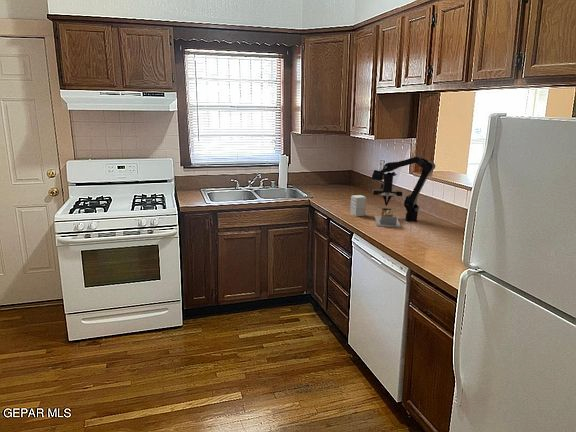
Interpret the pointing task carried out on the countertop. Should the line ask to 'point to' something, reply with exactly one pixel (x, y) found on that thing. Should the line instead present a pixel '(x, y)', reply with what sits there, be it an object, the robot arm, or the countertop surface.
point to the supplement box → (358, 205)
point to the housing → (388, 213)
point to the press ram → (385, 210)
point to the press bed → (387, 221)
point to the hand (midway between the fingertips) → (386, 205)
